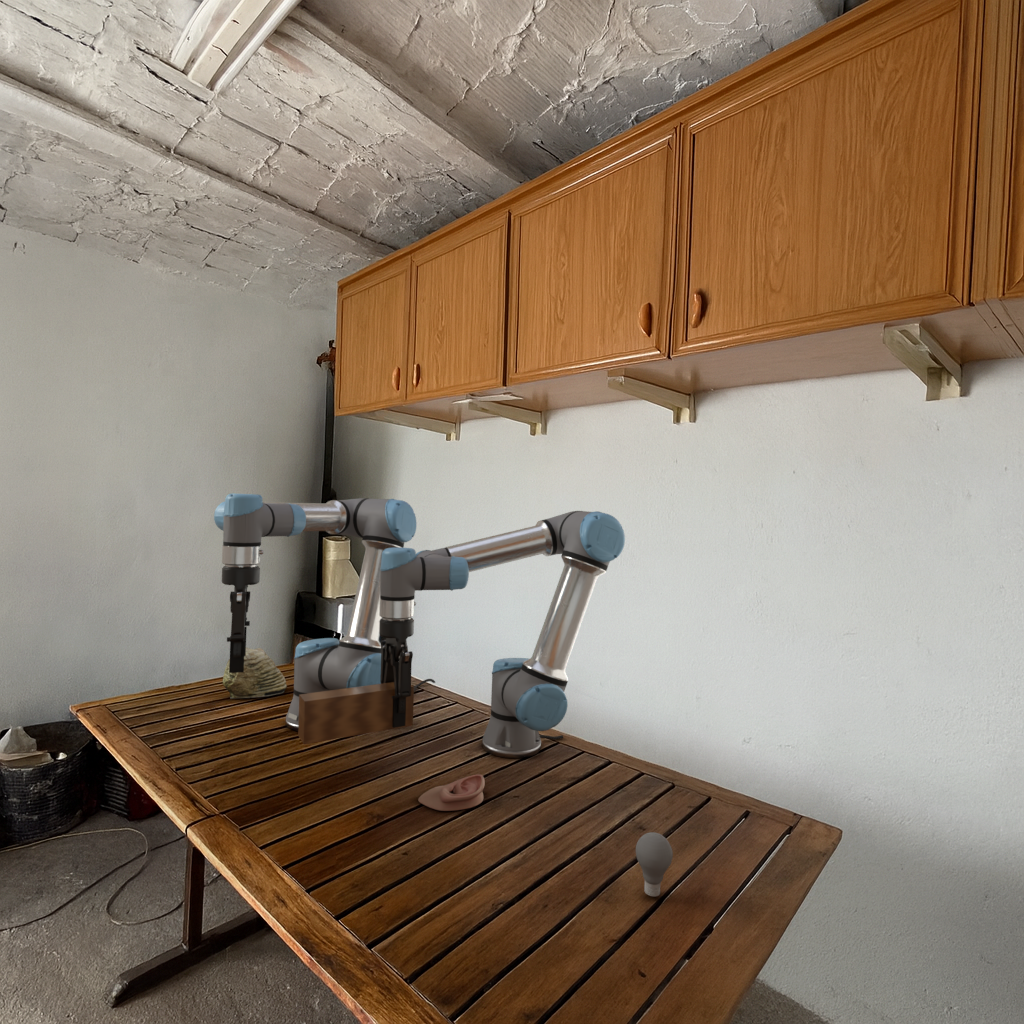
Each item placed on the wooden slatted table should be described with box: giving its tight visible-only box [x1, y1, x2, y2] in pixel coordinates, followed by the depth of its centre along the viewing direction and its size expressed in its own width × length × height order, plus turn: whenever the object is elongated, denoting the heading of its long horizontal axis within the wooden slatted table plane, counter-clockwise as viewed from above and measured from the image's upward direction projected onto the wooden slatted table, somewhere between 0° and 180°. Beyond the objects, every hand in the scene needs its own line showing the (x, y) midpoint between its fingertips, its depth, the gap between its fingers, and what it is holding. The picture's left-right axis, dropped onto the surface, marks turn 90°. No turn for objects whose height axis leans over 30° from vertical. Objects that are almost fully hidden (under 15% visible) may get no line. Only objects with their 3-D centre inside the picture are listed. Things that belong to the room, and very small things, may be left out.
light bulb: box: [635, 831, 674, 897], centre depth 105 cm, size 6×6×10 cm
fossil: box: [222, 646, 288, 699], centre depth 198 cm, size 9×18×15 cm, turn 132°
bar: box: [297, 682, 415, 745], centre depth 136 cm, size 24×5×9 cm, turn 121°
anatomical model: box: [417, 773, 486, 812], centre depth 135 cm, size 13×4×12 cm
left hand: (237, 663), depth 136 cm, fingers open, 13 cm apart
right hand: (394, 721), depth 140 cm, fingers closed on bar, 5 cm apart
